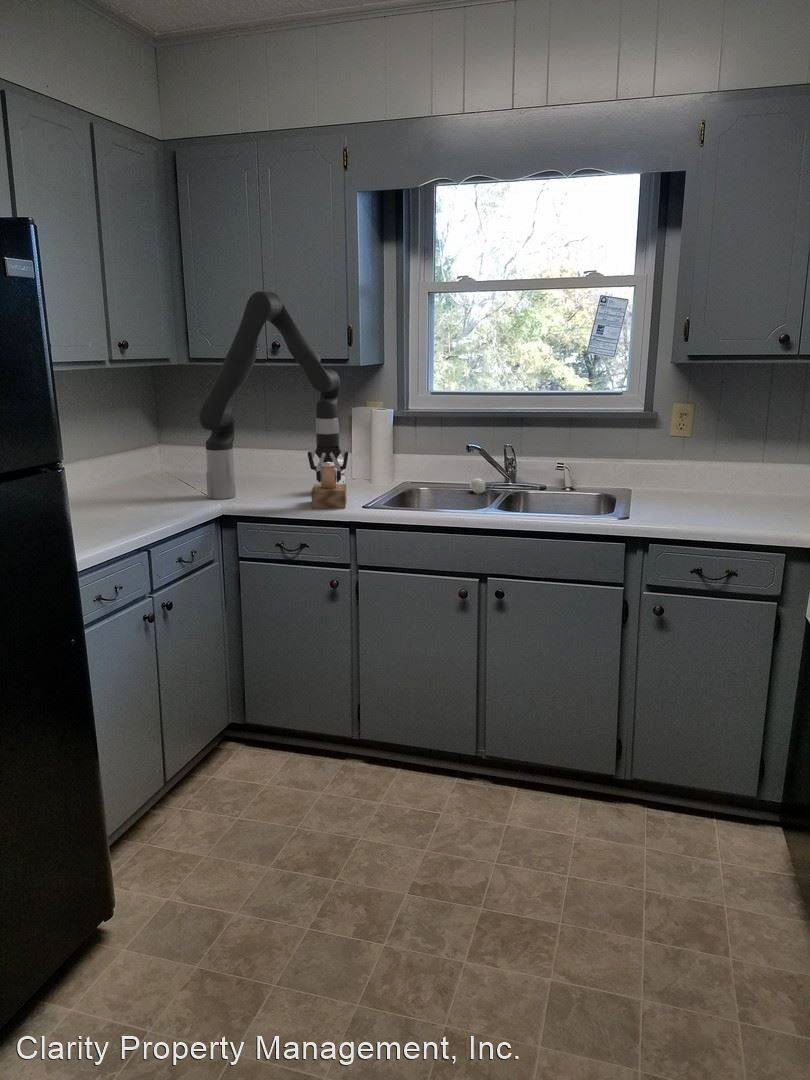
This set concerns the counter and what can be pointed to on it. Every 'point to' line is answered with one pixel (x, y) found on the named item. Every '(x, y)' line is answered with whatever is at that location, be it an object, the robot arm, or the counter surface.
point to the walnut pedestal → (329, 496)
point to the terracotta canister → (328, 476)
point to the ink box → (336, 470)
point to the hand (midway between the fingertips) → (328, 481)
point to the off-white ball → (477, 485)
